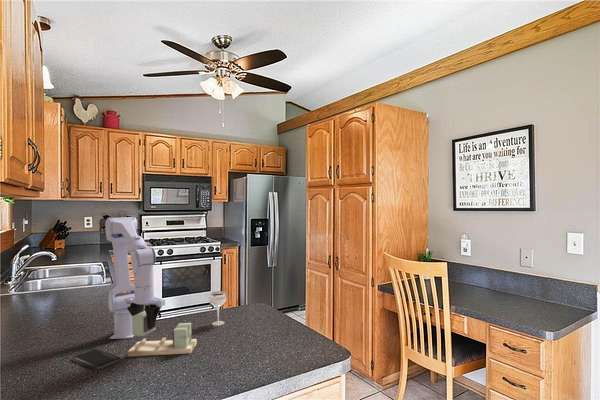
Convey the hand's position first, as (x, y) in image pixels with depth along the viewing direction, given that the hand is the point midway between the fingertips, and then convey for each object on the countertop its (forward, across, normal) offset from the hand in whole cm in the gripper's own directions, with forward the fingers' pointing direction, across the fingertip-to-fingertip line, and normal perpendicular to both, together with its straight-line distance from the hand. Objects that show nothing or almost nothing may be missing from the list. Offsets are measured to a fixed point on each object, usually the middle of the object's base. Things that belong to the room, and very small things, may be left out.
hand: (145, 326), depth 113 cm
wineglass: (+9, -9, -30) cm, 33 cm away
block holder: (+8, -4, -4) cm, 10 cm away
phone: (+9, +12, +8) cm, 17 cm away
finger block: (+2, 0, 0) cm, 2 cm away
